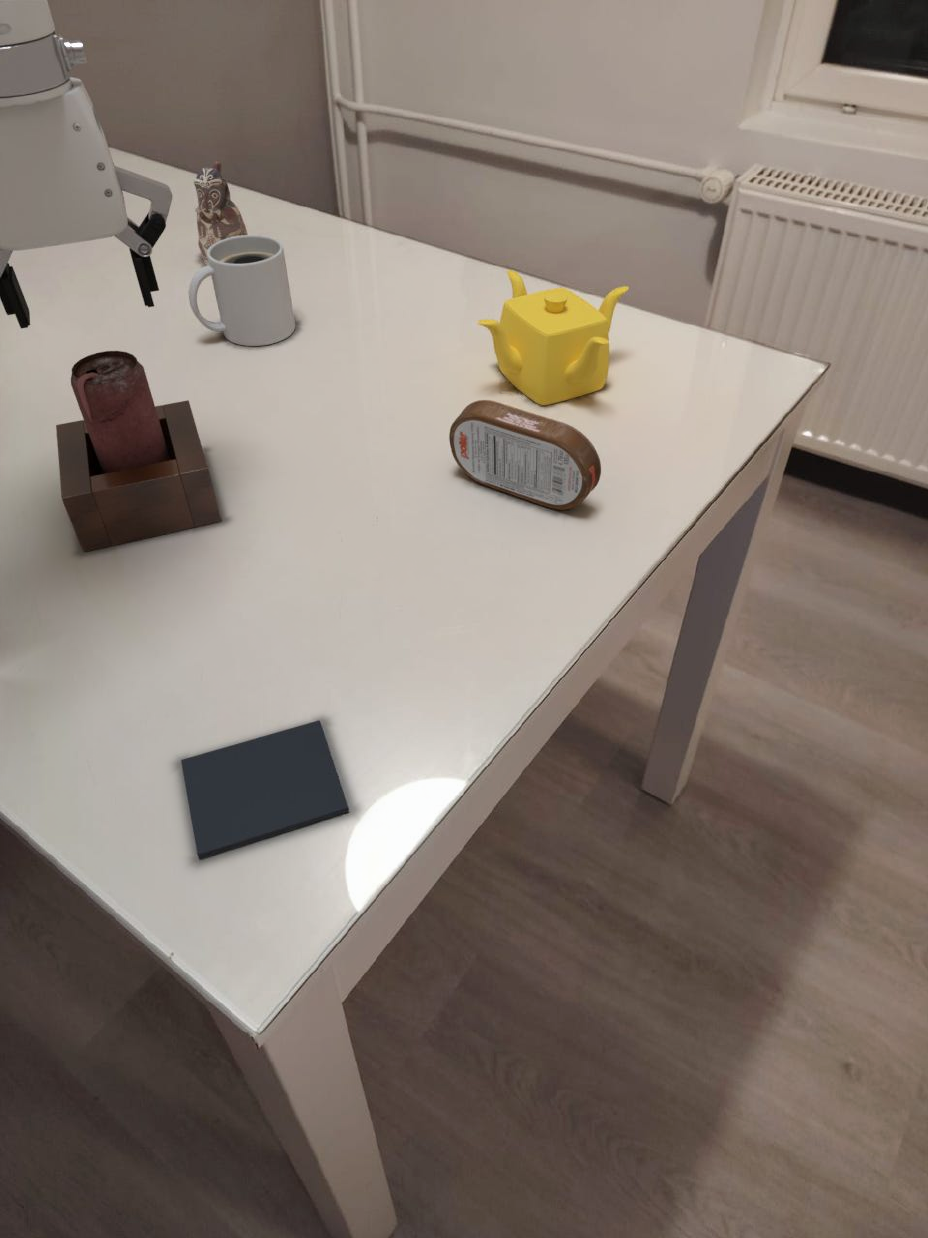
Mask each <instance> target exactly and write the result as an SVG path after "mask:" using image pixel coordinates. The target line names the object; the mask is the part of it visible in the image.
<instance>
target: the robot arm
mask: <svg viewBox="0 0 928 1238" xmlns="http://www.w3.org/2000/svg"><path fill="white" fill-rule="evenodd" d="M51 12H52V11H51V9H50V6H49V1H48V0H0V302H1V304H2V307H3V308H4V311H5V314H6V315H7V316H13V315H15V318H16V320H17V322H18V326H19V328H20V330H21V329H28V328H29V326H31V315H30V314H31V313H30V309H29V306H28V303H27V300H26V297H25V296H24V293H23V290H22V287H21V284H20V282H19V280H18V277H17V274H16V272H15V269H14V267H13V265H10V263H9V262H10V258H11V257H12V254H13V252H15V251H16V252H17V251H27V250H35V249H42V248H47V247H54V246H62V245H70V244H76V243H82V242H90V241H96V240H101V239H107V238H112V237H115V238H116V239H118V240H119V241H120V242H121V243H122V244H124V245H125V246H127V248H129V253H130V257H131V261H132V265H133V268H134V273H135V275H136V279H137V282H138V285H139V289H140V293H141V296H142V299H143V303H144V307H147V308H154V307H155V304H154V300H153V296H152V292H158V291H160V289H159V284H158V280H157V276H156V273H155V270H154V266H153V262H152V257H151V255H152V253H153V248H154V246H155V245H156V244H157V242H158V241H159V239H160V237H161V236H162V235H163V233H164V231H165V230H166V227H167V220H168V217H169V213H170V209H171V205H172V201H173V193H172V190H171V187H170V186H169V185H168V184H166V183H165V182H161V181H158V180H155V179H153V178H150V177H148V176H144V175H141V174H138V173H136V172H133V171H131V170H128V169H125V168H122V167H120V166H117V165H115V163H114V161H113V157H112V154H111V151H110V148H109V144H108V142H107V138H106V135H105V133H104V130H103V127H102V124H101V122H100V119H99V117H98V114H97V112H96V108H95V107H94V104H93V101H92V99H91V97H90V95H89V93H88V91H87V89H86V87H85V85H84V83H83V81H82V80H81V78H77V77H72V76H71V77H70V75H69V72H73V69H72V68H73V67H78V65H79V64H87V63H88V60H87V59H88V58H87V56H86V52H85V49H84V45H83V41H82V39H76V40H75V39H74V40H71V39H70V38H64V37H63V35H62V34H58V32H57V28H56V26H55V22H54V19H53V16H52V13H51ZM123 192H126V193H128V194H132V195H135V196H137V197H140V198H143V199H145V200H148V201H149V202H150V207H149V211H148V213H147V214H146V215H145V217H144V218H143V220H142V221H141V223H140V225H138V224H137V223H136V222H135V221H133V220H132V219H131V218H130V217H128V213H127V207H126V204H125V203H126V202H125V197H124V193H123Z"/></svg>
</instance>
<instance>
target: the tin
mask: <svg viewBox="0 0 928 1238" xmlns="http://www.w3.org/2000/svg"><path fill="white" fill-rule="evenodd" d="M448 435H449V436H448V441H449V446H450V450H451V455H452V457H453V459H454V461H455V463H456V464H457V465H458V467H459V468H460V469H461V470H462V471H463V472H464V473H465V474H466V475H467V476H468V477H470V478H471V479H472V480H474V481H475V482H476V483H479V484H480V485H483V486H486V487H488V488H492V489H494V490H497V491H500V492H503V493H506V494H509V495H511V496H514V497H518V498H521V499H523V500H526V501H529V502H531V503H535V504H537V505H540V506H543V507H545V508H549V509H553V510H568V509H573V508H575V507H577V506H578V505H580V504H581V503H582V502H583V501H584V500H585V499H586V498H587V497H588V496H589V494H591V492H593V490H594V489H596V487H597V486H598V484H599V482H600V479H601V475H602V464H601V463H602V462H601V460H600V459H601V458H600V456H599V454H598V451H597V450H596V448H595V446H594V444H593V443H592V442H591V441H590V439H589V438H587V437H586V435H584V434H583V432H581V431H580V430H578V429H577V428H575V427H573V426H572V425H570V424H568V423H565V422H563V421H558V420H556V419H553V418H549V417H546V416H544V415H540V414H536V413H533V412H530V411H527V410H523V409H519V408H517V407H513V406H511V405H508V404H504V403H501V402H498V401H495V400H491V399H479V400H475V401H473V402H470V403H469V404H468V405H466V406H465V407H464V408H463V409H462V412H460V414H458V416H457V417H456V418H455V420H454V421H453V422H452V424H451V426H450V429H449V434H448Z"/></svg>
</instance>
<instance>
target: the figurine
mask: <svg viewBox="0 0 928 1238" xmlns="http://www.w3.org/2000/svg"><path fill="white" fill-rule="evenodd" d="M221 171H222V163H220V162H218V161H214V162H213V165H212V167H207V166H206V167H202V168H201V169H200V171H198V172H197V175H196V178H195V179H194V181H193V185H194V187H195V191H196V196H197V203H198V206H195V208H194V211H195V213H196V226H197V234H198V248H199V250H200V255H201V258H202V260H203V263H204V264H205V266H208V265H209V263H208V258H205V257H207V251H208V249H209V248H210V246H212V245H213V244H215V243H216V242H218V241H221V240H224V239H227V238H230V237H235V236H242V235H249V233H248V231H247V227H246V224H245V222H244V219H243V216H242V213H241V211H240V209H239V208H238V206H237V205H236V204H235V203H234V202H233V201H232V200H231V191H230V188H229V185H228V182H227V181H226V180H225V179H224V178H223V176H222V175H221ZM204 256H205V257H204Z"/></svg>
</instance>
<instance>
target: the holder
mask: <svg viewBox="0 0 928 1238" xmlns="http://www.w3.org/2000/svg"><path fill="white" fill-rule="evenodd" d="M155 408H156V412H157V415H158V419H159V422H160V425H161V429H162V432H163V436H164V439H165V443H166V446H167V449H168V453H169V456H170V461H165V462H160V463H155V464H150V465H145V466H140V467H135V468H131V469H126V470H121V471H116V472H111V473H106V474H103V472H102V469H101V466H100V463H99V460H98V458H97V455H96V452H95V449H94V447H93V444H92V441H91V438H90V436H89V433H88V430H87V427H86V424H85V422H84V419H80V420H76V421H71V422H65V423H59V424H55V429H56V443H57V457H58V458H57V459H58V469H59V470H58V471H59V484H60V497H61V498H60V499H61V501H62V503H63V506H64V508H65V511H66V513H67V516H68V518H69V520H70V523H71V526H72V528H73V531H74V533H75V535H76V537H77V540H78V542H79V545H80V547H81V550H82V552H83V553H86V552H90V551H95V550H100V549H104V548H108V547H112V546H118V545H122V544H126V543H131V542H135V541H141V540H144V539H150V538H153V537H158V536H162V535H168V534H172V533H176V532H180V531H184V530H185V531H186V530H189V529H193V528H198V527H202V526H203V527H204V526H207V525H212V524H217V523H220V522H222V516H221V512H220V508H219V505H218V501H217V497H216V493H215V490H214V485H213V481H212V478H211V473H210V469H209V466H208V462H207V458H206V456H205V455H206V454H205V452H204V449H203V445H202V442H201V437H200V434H199V431H198V427H197V425H196V421H195V418H194V414H193V411H192V407H191V403H190V400H188V399H187V400H182V401H177V402H172V403H166V404H161V405H155Z"/></svg>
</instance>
